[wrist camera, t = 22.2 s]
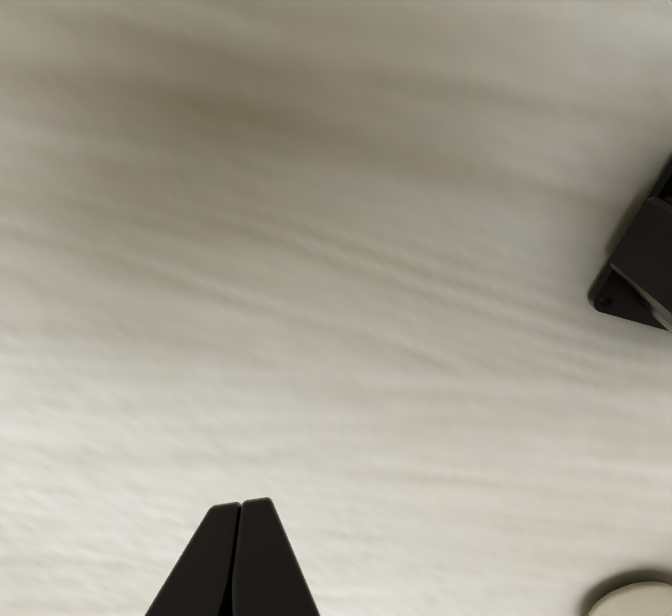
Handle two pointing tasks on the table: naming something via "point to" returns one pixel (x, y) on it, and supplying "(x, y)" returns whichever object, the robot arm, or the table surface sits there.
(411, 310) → the table surface
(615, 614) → the plastic bottle
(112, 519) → the table surface
